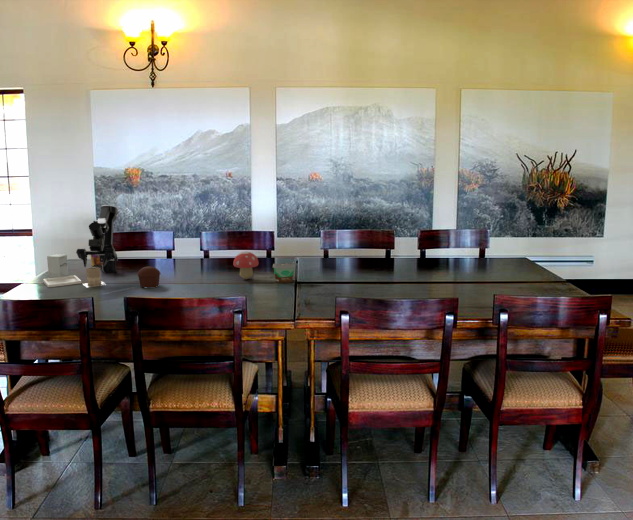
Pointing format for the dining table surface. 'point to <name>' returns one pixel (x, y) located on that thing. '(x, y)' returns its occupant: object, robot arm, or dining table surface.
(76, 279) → the plastic tray
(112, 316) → the dining table surface
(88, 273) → the wooden pen holder
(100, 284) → the white square pedestal
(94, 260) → the candy box
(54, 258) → the supplement box
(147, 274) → the muffin
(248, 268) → the decorative mushroom
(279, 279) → the food container
